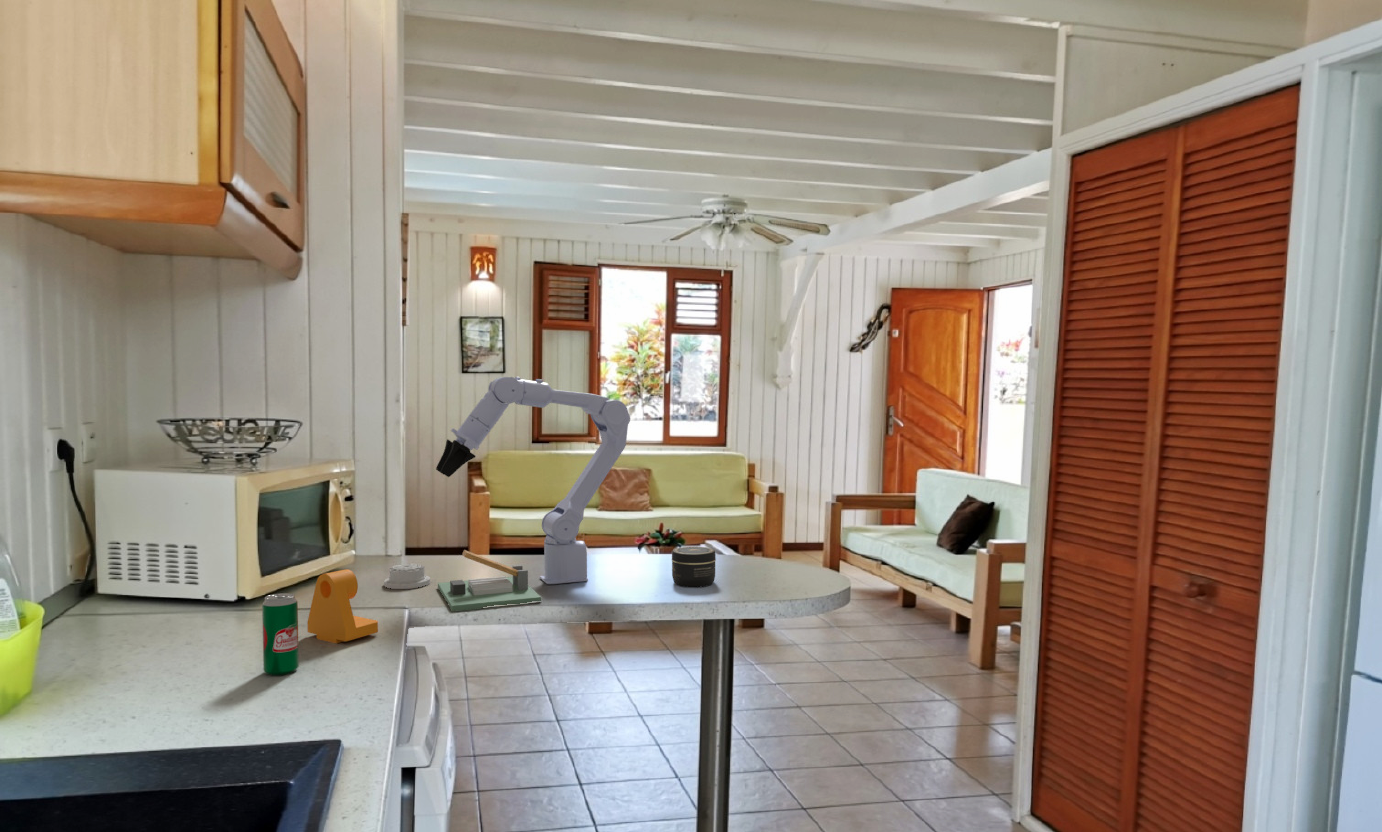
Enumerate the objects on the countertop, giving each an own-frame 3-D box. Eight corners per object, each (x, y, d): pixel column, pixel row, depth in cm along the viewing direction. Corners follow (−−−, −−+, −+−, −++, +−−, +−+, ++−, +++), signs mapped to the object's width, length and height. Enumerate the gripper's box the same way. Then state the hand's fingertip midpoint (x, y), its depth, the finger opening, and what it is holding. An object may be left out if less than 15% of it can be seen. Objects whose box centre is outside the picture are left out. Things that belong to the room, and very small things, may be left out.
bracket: (380, 636, 161) (379, 570, 160) (345, 646, 154) (344, 577, 154) (342, 627, 166) (341, 563, 166) (307, 636, 160) (306, 570, 160)
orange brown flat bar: (519, 576, 195) (522, 570, 195) (523, 580, 192) (526, 574, 192) (461, 555, 190) (464, 548, 190) (464, 558, 187) (467, 552, 187)
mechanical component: (377, 590, 197) (422, 590, 196) (376, 570, 196) (421, 570, 196) (393, 580, 206) (435, 580, 206) (392, 561, 206) (435, 561, 206)
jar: (664, 581, 204) (664, 548, 204) (702, 577, 208) (702, 544, 208) (683, 590, 195) (683, 555, 195) (723, 585, 200) (723, 551, 199)
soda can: (276, 678, 137) (274, 601, 137) (256, 673, 140) (255, 597, 139) (305, 669, 141) (304, 594, 141) (286, 664, 144) (284, 591, 144)
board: (518, 581, 204) (518, 558, 204) (541, 602, 184) (540, 577, 184) (437, 588, 197) (437, 564, 197) (451, 611, 177) (451, 585, 177)
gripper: (459, 411, 202) (422, 460, 199) (470, 412, 188) (430, 464, 185) (485, 430, 204) (448, 478, 201) (497, 431, 191) (458, 484, 187)
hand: (442, 473), depth 193 cm, fingers open, 7 cm apart
